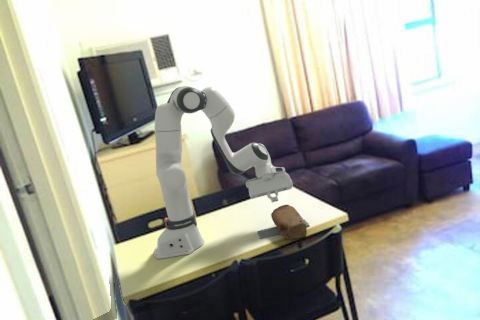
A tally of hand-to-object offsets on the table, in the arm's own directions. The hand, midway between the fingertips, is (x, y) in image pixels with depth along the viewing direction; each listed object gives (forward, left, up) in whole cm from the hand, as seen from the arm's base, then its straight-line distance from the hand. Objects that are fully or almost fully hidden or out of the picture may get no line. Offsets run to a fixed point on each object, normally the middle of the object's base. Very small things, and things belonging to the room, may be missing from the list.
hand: (275, 201), depth 186 cm
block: (+2, 0, -6) cm, 6 cm away
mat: (0, -6, -11) cm, 13 cm away
